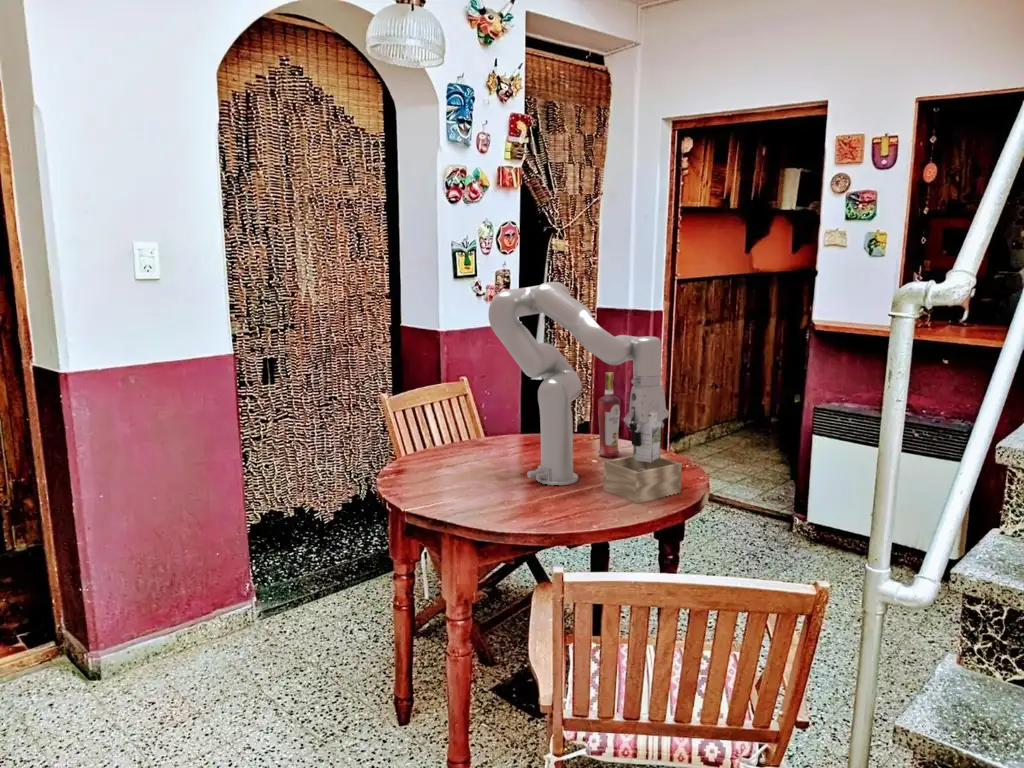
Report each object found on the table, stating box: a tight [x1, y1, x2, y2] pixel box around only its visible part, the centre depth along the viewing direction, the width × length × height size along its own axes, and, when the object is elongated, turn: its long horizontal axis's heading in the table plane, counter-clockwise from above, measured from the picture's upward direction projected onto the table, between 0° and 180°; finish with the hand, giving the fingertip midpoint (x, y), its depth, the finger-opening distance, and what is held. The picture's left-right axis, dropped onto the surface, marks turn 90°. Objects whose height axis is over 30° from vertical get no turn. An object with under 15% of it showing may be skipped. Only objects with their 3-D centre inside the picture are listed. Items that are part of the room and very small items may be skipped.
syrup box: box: [632, 412, 661, 463], centre depth 209 cm, size 6×6×14 cm
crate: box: [603, 455, 682, 504], centre depth 209 cm, size 16×14×8 cm
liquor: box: [597, 371, 621, 458], centre depth 246 cm, size 7×7×28 cm
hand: (646, 442), depth 210 cm, fingers closed on syrup box, 7 cm apart
